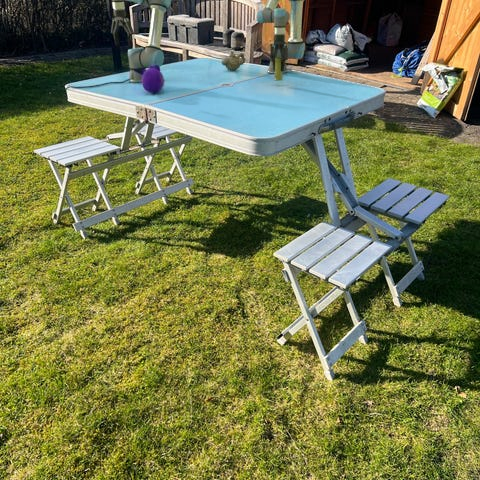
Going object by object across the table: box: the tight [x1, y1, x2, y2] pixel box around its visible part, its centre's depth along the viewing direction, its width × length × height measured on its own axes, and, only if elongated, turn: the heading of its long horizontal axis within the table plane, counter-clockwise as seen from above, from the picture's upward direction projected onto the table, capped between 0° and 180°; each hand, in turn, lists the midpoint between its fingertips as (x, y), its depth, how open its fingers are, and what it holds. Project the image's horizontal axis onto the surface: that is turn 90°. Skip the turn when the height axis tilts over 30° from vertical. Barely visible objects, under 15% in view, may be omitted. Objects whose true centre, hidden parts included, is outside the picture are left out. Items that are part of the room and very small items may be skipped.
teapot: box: [221, 50, 246, 72], centre depth 365 cm, size 21×12×15 cm, turn 120°
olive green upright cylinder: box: [273, 58, 284, 82], centre depth 312 cm, size 6×6×14 cm
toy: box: [134, 65, 165, 94], centre depth 304 cm, size 16×18×27 cm
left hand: (124, 45), depth 296 cm, fingers open, 13 cm apart
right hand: (278, 70), depth 312 cm, fingers closed on olive green upright cylinder, 6 cm apart
